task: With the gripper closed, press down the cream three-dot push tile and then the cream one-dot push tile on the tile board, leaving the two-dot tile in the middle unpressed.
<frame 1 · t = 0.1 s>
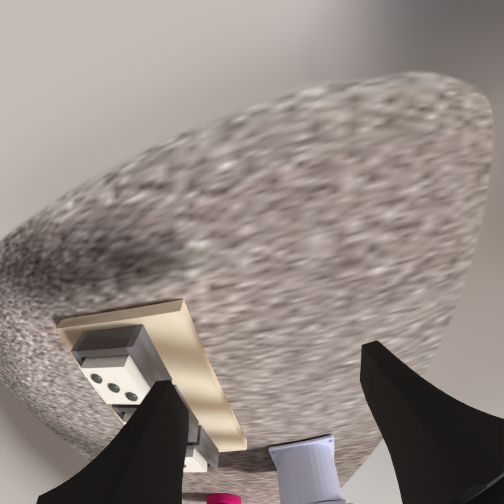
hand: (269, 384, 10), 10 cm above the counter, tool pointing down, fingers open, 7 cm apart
pepper mill: (223, 496, 37), on the counter
tile board: (162, 394, 24), on the counter
tile three: (117, 378, 18), point 4 cm above the counter, slide at 0.0 cm
tile two: (154, 426, 20), point 4 cm above the counter, slide at 0.0 cm
tile one: (182, 457, 22), point 4 cm above the counter, slide at 0.0 cm
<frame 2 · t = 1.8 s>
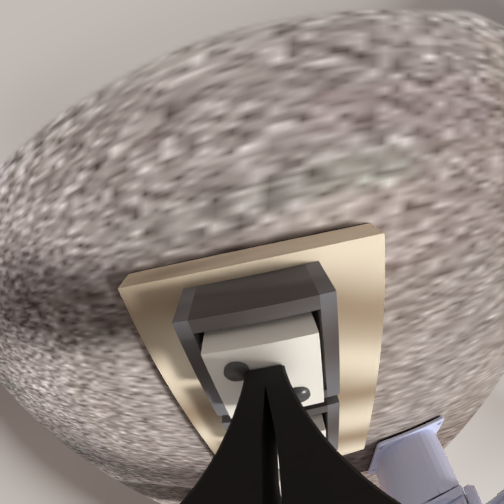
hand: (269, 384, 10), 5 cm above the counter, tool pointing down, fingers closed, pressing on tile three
tile board: (280, 390, 17), on the counter
tile three: (267, 366, 11), point 4 cm above the counter, slide at 0.0 cm, touching gripper
tile two: (287, 440, 13), point 4 cm above the counter, slide at 0.0 cm
tile one: (297, 476, 15), point 4 cm above the counter, slide at 0.0 cm
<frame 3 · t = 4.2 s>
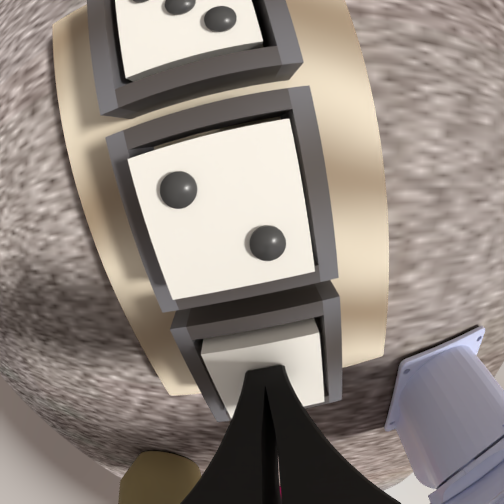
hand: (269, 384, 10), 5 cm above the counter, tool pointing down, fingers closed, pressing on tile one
tile board: (231, 185, 11), on the counter
tile three: (185, 14, 6), point 3 cm above the counter, slide at 1.2 cm
tile two: (225, 207, 8), point 4 cm above the counter, slide at 0.0 cm
squeeze bottle: (168, 460, 21), on the counter
tile one: (267, 366, 11), point 4 cm above the counter, slide at 0.4 cm, touching gripper
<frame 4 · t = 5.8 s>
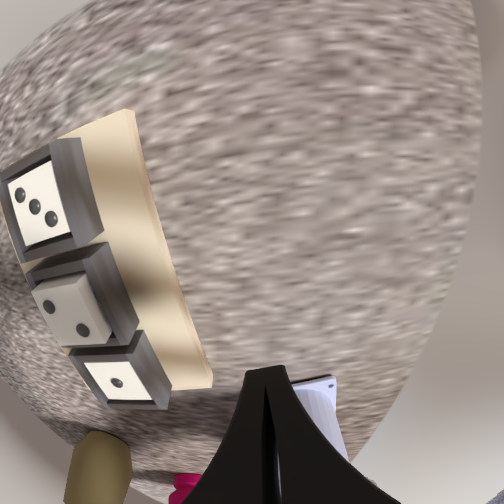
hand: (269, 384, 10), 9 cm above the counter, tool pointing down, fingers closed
pepper mill: (195, 479, 31), on the counter
tile board: (98, 279, 18), on the counter
tile three: (44, 202, 13), point 3 cm above the counter, slide at 1.2 cm
tile two: (72, 309, 14), point 4 cm above the counter, slide at 0.0 cm
squeeze bottle: (109, 440, 27), on the counter
tile one: (121, 373, 18), point 3 cm above the counter, slide at 1.2 cm
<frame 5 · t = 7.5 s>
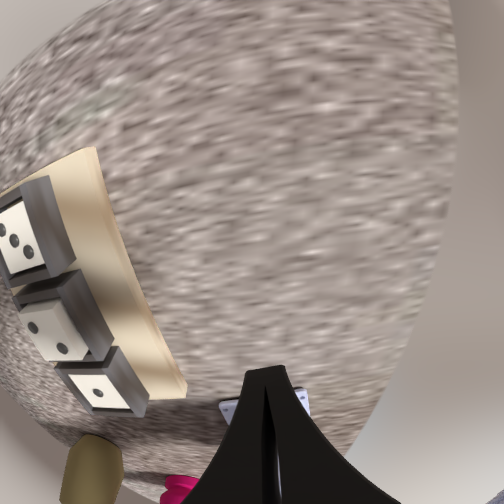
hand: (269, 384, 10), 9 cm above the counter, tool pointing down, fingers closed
pepper mill: (185, 480, 32), on the counter
tile board: (77, 300, 19), on the counter
tile three: (23, 235, 14), point 3 cm above the counter, slide at 1.2 cm
tile two: (53, 329, 15), point 4 cm above the counter, slide at 0.0 cm
squeeze bottle: (102, 443, 28), on the counter
tile one: (102, 384, 19), point 3 cm above the counter, slide at 1.2 cm
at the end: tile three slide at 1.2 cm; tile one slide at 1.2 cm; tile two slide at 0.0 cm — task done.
